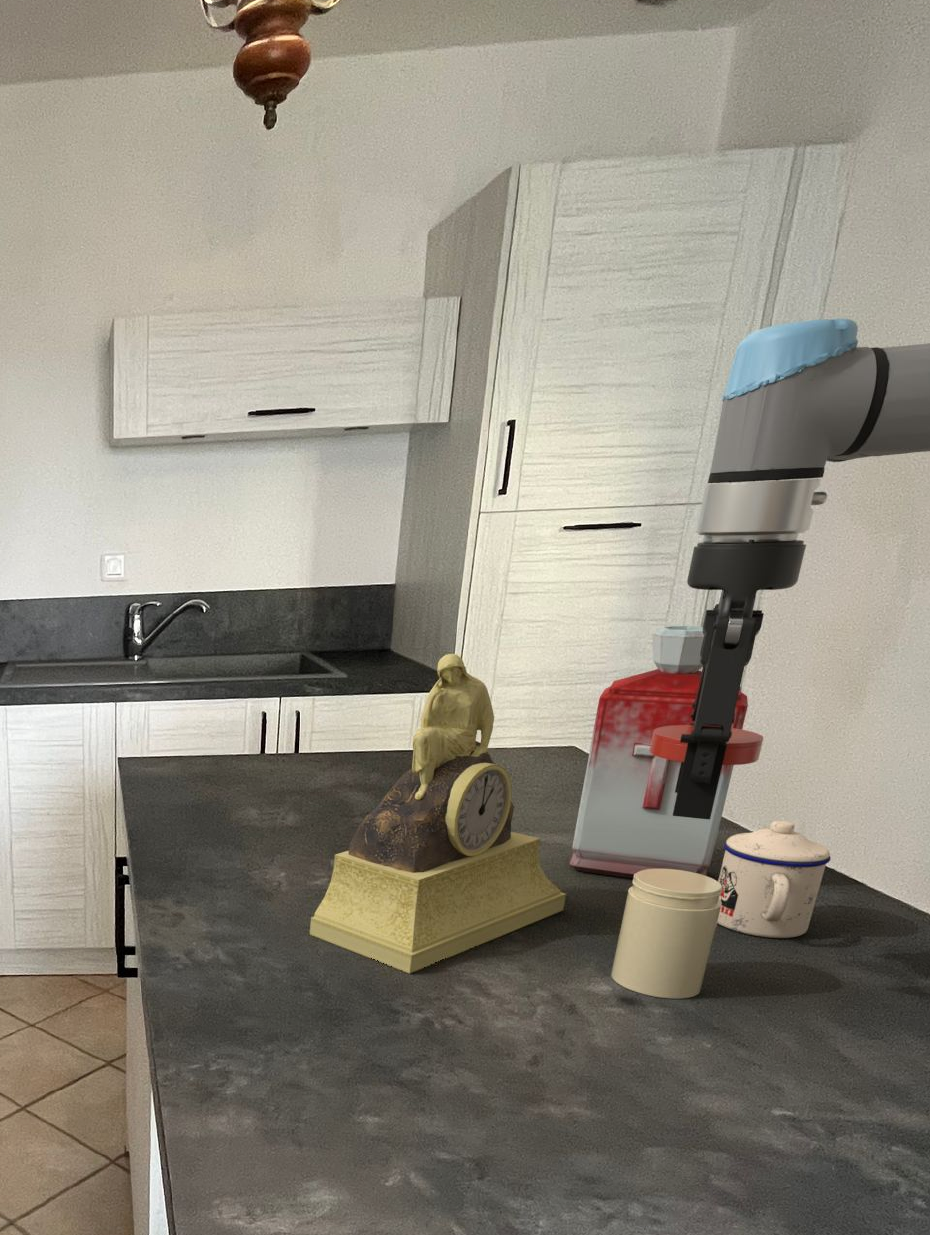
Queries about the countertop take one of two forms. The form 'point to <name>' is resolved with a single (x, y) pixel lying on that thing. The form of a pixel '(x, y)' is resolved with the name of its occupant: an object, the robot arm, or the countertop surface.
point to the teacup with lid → (770, 881)
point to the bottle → (646, 770)
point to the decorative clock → (438, 847)
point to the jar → (667, 933)
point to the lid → (668, 745)
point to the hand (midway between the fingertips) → (691, 804)
